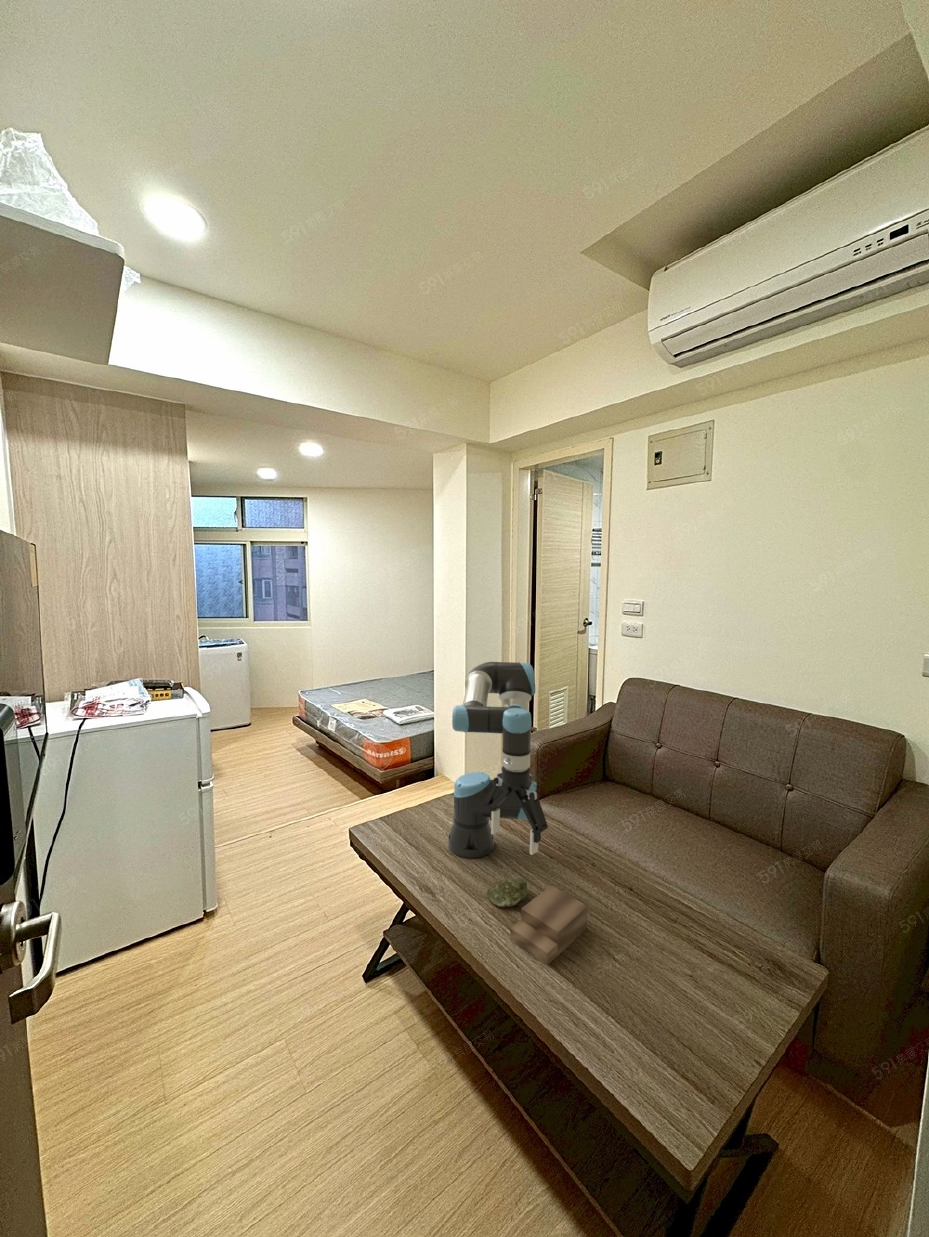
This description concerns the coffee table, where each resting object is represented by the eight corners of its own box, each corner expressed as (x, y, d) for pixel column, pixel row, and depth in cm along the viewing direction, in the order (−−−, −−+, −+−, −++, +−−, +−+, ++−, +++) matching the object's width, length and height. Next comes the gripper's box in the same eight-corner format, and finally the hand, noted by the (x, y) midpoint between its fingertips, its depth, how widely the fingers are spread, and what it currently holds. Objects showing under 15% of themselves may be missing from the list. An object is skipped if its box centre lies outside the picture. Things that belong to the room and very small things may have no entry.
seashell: (480, 888, 134) (503, 859, 136) (492, 896, 138) (514, 867, 140) (502, 916, 126) (526, 884, 128) (515, 923, 130) (538, 892, 132)
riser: (510, 939, 118) (510, 916, 117) (551, 906, 129) (551, 885, 129) (547, 965, 110) (547, 941, 109) (586, 928, 122) (587, 905, 121)
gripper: (473, 757, 135) (471, 829, 137) (545, 785, 118) (542, 867, 120) (490, 751, 141) (489, 820, 143) (562, 777, 123) (560, 855, 125)
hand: (513, 842), depth 131 cm, fingers open, 13 cm apart
